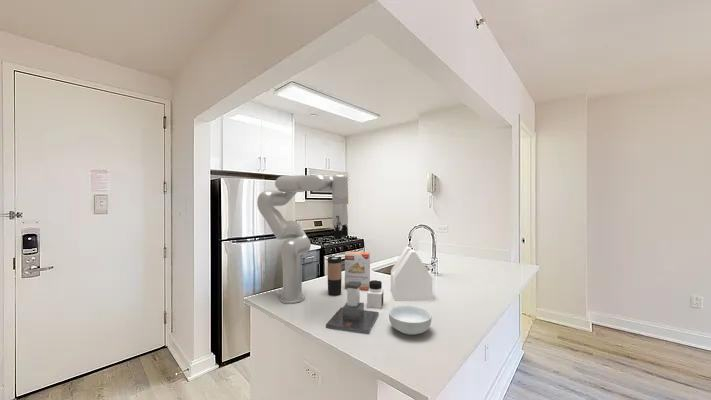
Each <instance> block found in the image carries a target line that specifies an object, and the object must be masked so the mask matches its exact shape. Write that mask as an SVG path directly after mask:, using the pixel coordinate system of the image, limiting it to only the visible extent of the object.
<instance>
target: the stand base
mask: <svg viewBox="0 0 711 400" xmlns="http://www.w3.org/2000/svg"><path fill="white" fill-rule="evenodd" d="M379 315H380V313H379V311H373V310H367V309H365V304H364V302H360V305H359V306H358V308H354V307H347V302H346V303H345V304H344V305H343V306H342V307H340V308H339V309H338V310H337V311H336V312H335V314H334V315H332V317H331V318H330V319H329V320H328V321H327V322H326V324H325V328H326V329H330V330H338V331H345V332H352V333H358V334H365V335H369V334H370V333H371V331H372V329H373V327H374V324H375V323H376V321H377V319H378V317H379Z"/></svg>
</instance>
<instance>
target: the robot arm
mask: <svg viewBox="0 0 711 400" xmlns="http://www.w3.org/2000/svg"><path fill="white" fill-rule="evenodd" d="M348 181H349V179H348V176H347V175H345V174H336V175H331V176H330V175H323V174H321V175H320V174H309V175H308V174H306V175H305V174H301V175H297V174H296V175H281V176H279V177H277V178H276V180H275V181H274V186H275V188H276V189H277V190H266V191H265V190H264V191H262V192H260V193H259V195H258V197H257V201H256V205H257V209H258V211H259V213H260V215H261V216H262V217H263V218H264V220H265V222H266V223H267V224H268V226H269V228H270V230H271V232H272V233H273V235H274V236H275V238H276V239H278V240H282V241H283V240H284V241H283V242H282V243H281V245H280V254H281V259H282V289H277V292H276V295H280V297H279V300H280V302H281V303H282V304H297V303H300V302H302V301H304V300H306V299H305V298H306V297H305V294H303V290H302V288H303V283H302V280H303V278H302V277H303V276H302V274H303V273H302V271H303V270H302V268H303V266H302V262H301V261H302V260H301V258H300V256H302V255H305V254H306V253H309V251H310V250H311V245H312V244H311V241H310V239H309V237H308V236H307V234H306V232H305V231H304V229H303V227H302V226H301V225H300V223H299V222H297V221H296V220H286V219H285V218H284V216H283V215H282V212H280V211H279V210H278V209H277V208H276V207H282V206H286V205H287V204H288V203H289V202H290V201H291V200H292V198H294V197H295V196H296V194H297V193H304V192H331V197H332V198H331V199H332V202H331V203H332V215H331V216H332V217H331V218H332V220H331V221H332V223H331V224H332V226H333V227H334V228H333V230H334V231H333V232H334V240H342V238H343V237H348V236H349V230H348V229H349V228H348V227H349V226H348V224H349V215H348V214H349V213H348V212H349V211H348V205H349V183H348Z"/></svg>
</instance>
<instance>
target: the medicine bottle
mask: <svg viewBox="0 0 711 400" xmlns="http://www.w3.org/2000/svg"><path fill="white" fill-rule="evenodd" d="M382 284H383V283H382V281H381V280H379V279H372V280H370V282H369V290H367V294H366V302H367V303H366V304H367V305H366V307H367V308H372V309H383V305H384V288H382V287H383V286H382Z"/></svg>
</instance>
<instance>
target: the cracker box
mask: <svg viewBox="0 0 711 400" xmlns="http://www.w3.org/2000/svg"><path fill="white" fill-rule="evenodd" d="M350 281H351V282H361V286H360V291H368V290H369V282H370V281H371V252H365V251H346V252H345V253H344V290H347V288H346V284H347V283H348V282H350Z"/></svg>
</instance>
